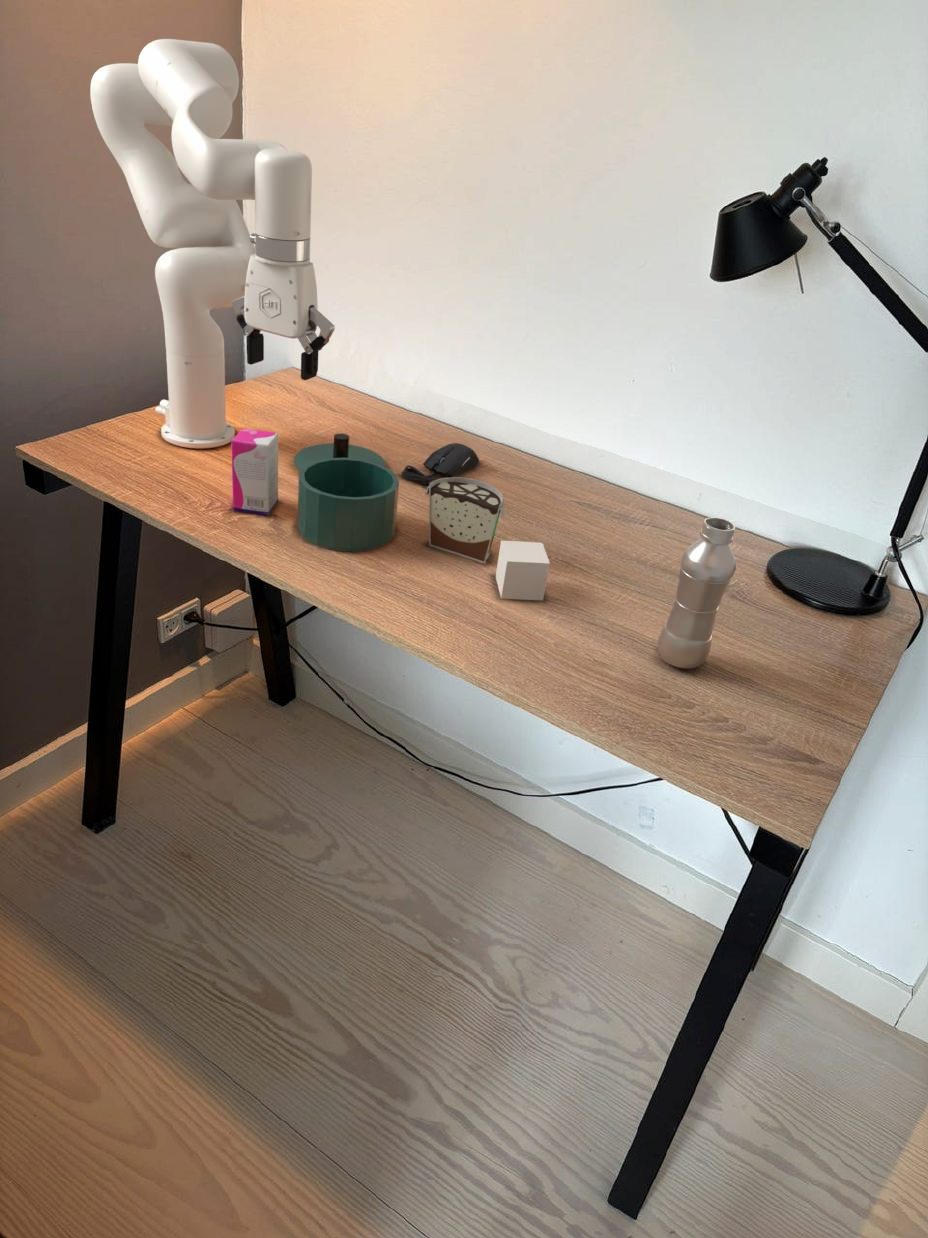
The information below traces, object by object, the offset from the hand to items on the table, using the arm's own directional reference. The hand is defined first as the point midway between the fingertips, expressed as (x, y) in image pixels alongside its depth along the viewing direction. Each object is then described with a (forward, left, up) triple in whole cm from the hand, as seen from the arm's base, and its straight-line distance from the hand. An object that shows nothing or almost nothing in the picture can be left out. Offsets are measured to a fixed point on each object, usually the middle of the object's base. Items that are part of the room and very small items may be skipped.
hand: (281, 369), depth 139 cm
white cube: (+44, -2, -21) cm, 48 cm away
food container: (+32, +4, -21) cm, 38 cm away
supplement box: (0, -6, -21) cm, 21 cm away
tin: (+15, -3, -20) cm, 25 cm away
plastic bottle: (+69, -5, -21) cm, 72 cm away
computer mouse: (+18, +26, -21) cm, 38 cm away
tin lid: (+1, +16, -20) cm, 25 cm away
